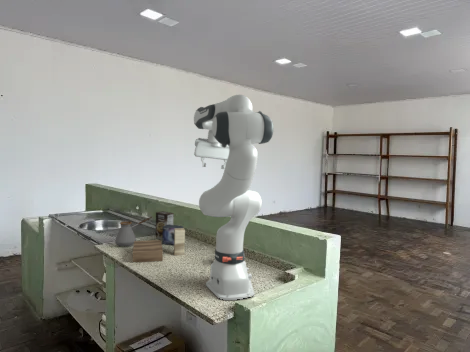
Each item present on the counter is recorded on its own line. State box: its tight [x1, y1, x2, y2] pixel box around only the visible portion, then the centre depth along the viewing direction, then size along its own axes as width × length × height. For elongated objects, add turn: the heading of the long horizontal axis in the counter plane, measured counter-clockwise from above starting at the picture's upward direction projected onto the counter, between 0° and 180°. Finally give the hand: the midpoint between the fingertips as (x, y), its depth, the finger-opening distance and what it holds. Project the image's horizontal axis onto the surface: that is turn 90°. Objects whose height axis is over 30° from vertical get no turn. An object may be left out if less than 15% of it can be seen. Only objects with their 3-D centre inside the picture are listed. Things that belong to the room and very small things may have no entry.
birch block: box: [173, 227, 186, 256], centre depth 171 cm, size 5×5×13 cm
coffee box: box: [155, 210, 175, 240], centre depth 200 cm, size 9×6×16 cm
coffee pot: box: [114, 216, 154, 247], centre depth 186 cm, size 21×12×15 cm, turn 124°
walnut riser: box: [132, 239, 164, 263], centre depth 167 cm, size 20×14×5 cm
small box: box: [161, 224, 184, 247], centre depth 189 cm, size 11×6×10 cm, turn 73°
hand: (213, 167), depth 161 cm, fingers open, 8 cm apart
